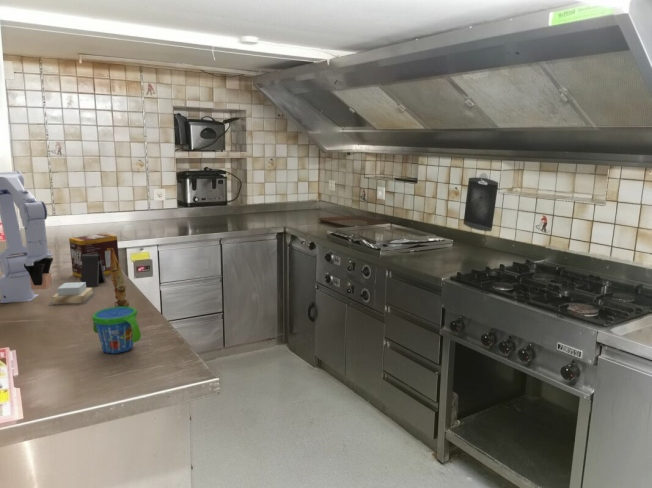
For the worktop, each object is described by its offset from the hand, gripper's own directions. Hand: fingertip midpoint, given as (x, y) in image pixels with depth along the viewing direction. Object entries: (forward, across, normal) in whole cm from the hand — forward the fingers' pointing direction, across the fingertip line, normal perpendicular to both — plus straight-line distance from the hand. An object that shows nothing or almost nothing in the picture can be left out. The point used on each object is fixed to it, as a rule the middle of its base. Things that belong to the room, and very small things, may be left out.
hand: (41, 282), depth 166 cm
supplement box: (+10, +51, -2) cm, 52 cm away
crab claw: (+10, +3, -23) cm, 25 cm away
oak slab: (+9, +12, -5) cm, 16 cm away
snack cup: (+10, -35, -31) cm, 48 cm away
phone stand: (+10, +32, -6) cm, 34 cm away
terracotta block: (+2, 0, 0) cm, 2 cm away
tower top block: (+7, +12, -5) cm, 15 cm away
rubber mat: (+10, +12, -5) cm, 16 cm away
